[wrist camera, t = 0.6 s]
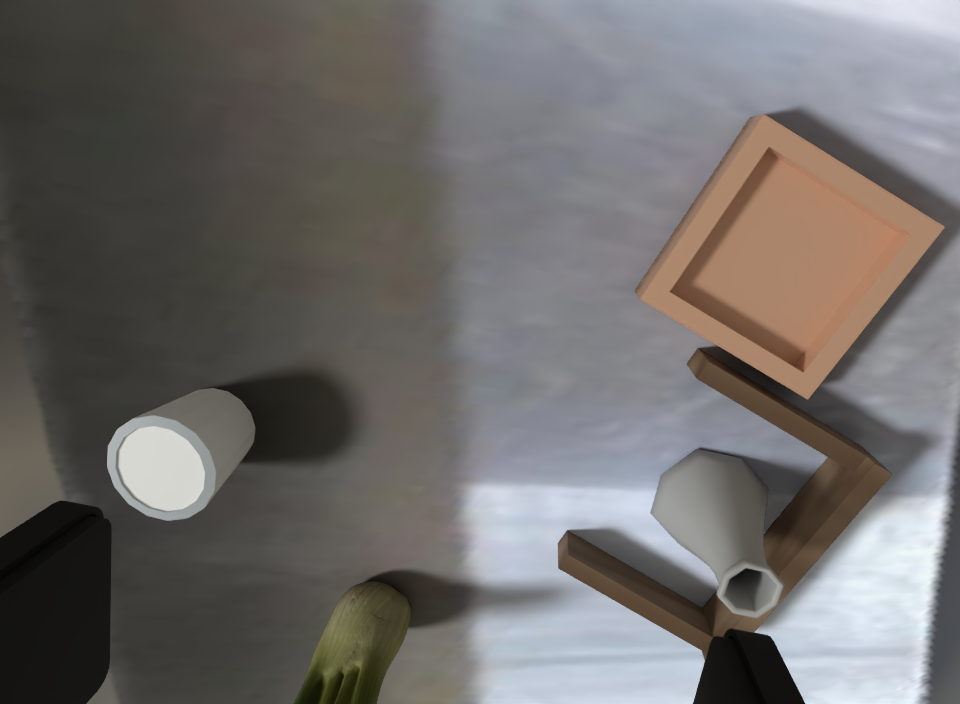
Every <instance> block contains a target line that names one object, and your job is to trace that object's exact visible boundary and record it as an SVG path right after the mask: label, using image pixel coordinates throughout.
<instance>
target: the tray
mask: <svg viewBox="0 0 960 704" xmlns="http://www.w3.org/2000/svg"><path fill="white" fill-rule="evenodd" d="M944 228H945V227H944V226H943V225H941V224H939V223H938V222H936V221H935V220H933V219H931V218H930V217H928V216H927V215H925V214H923V213H922V212H920V211H919V210H917V209H915V208H914V207H912V206H910V205H909V204H907V203H906V202H904V201H902V200H901V199H899V198H898V197H896V196H894V195H893V194H891V193H890V192H888V191H886V190H885V189H883V188H882V187H880V186H878V185H877V184H875V183H874V182H872V181H870V180H869V179H867V178H866V177H864V176H862V175H861V174H859V173H858V172H856V171H854V170H853V169H851V168H850V167H848V166H846V165H845V164H843V163H841V162H840V161H838V160H837V159H835V158H833V157H832V156H830V155H829V154H827V153H825V152H824V151H822V150H821V149H819V148H817V147H816V146H814V145H813V144H811V143H809V142H808V141H806V140H805V139H803V138H801V137H800V136H798V135H797V134H795V133H793V132H792V131H790V130H789V129H787V128H785V127H784V126H782V125H781V124H779V123H777V122H776V121H774V120H773V119H771V118H769V117H768V116H766V115H764V114H762V115H758V116H754V117H750V119H749V120H748V122H747V123H746V125H745V126H744V128H743V129H742V131H741V132H740V134H739V135H738V137H737V138H736V140H735V141H734V143H733V144H732V146H731V147H730V149H729V150H728V152H727V153H726V155H725V156H724V158H723V159H722V161H721V162H720V164H719V165H718V167H717V168H716V170H715V171H714V173H713V174H712V176H711V177H710V179H709V180H708V182H707V183H706V185H705V186H704V188H703V189H702V191H701V192H700V194H699V195H698V197H697V198H696V200H695V201H694V203H693V204H692V206H691V207H690V209H689V210H688V212H687V213H686V215H685V216H684V218H683V219H682V221H681V222H680V224H679V225H678V227H677V228H676V230H675V231H674V233H673V234H672V236H671V237H670V239H669V240H668V242H667V243H666V245H665V246H664V248H663V249H662V251H661V252H660V254H659V255H658V257H657V258H656V260H655V261H654V263H653V264H652V266H651V267H650V269H649V270H648V272H647V273H646V275H645V276H644V278H643V279H642V281H641V282H640V284H639V285H638V287H637V288H636V290H635V293H636V294H637V295H638V297H639V298H640V299H641V300H642V301H644V302H646V303H647V304H649V305H651V306H652V307H654V308H656V309H657V310H659V311H661V312H662V313H664V314H666V315H667V316H669V317H671V318H672V319H674V320H676V321H677V322H679V323H681V324H682V325H684V326H686V327H687V328H689V329H691V330H692V331H694V332H696V333H697V334H699V335H701V336H702V337H704V338H706V339H707V340H709V341H711V342H712V343H714V344H716V345H717V346H719V347H721V348H722V349H724V350H726V351H727V352H729V353H731V354H732V355H734V356H736V357H737V358H739V359H741V360H742V361H744V362H746V363H747V364H749V365H751V366H752V367H754V368H756V369H757V370H759V371H761V372H762V373H764V374H766V375H767V376H769V377H771V378H772V379H774V380H776V381H777V382H779V383H781V384H782V385H784V386H786V387H787V388H789V389H791V390H792V391H794V392H796V393H797V394H799V395H801V396H802V397H804V398H806V399H807V400H808V399H809V398H810V396H811V395H812V394H813V393H814V391H815V390H816V389H817V388H818V386H819V385H820V384H821V383H822V381H823V380H824V379H825V377H826V376H827V375H828V374H829V372H830V371H831V370H832V369H833V367H834V366H835V365H836V364H837V362H838V361H839V360H840V359H841V357H842V356H843V355H844V354H845V352H846V351H847V350H848V349H849V347H850V346H851V345H852V344H853V342H854V341H855V340H856V339H857V337H858V336H859V335H860V333H861V332H862V331H863V330H864V328H865V327H866V326H867V325H868V323H869V322H870V321H871V320H872V318H873V317H874V316H875V315H876V313H877V312H878V311H879V310H880V308H881V307H882V306H883V305H884V303H885V302H886V301H887V300H888V298H889V297H890V296H891V294H892V293H893V292H894V291H895V289H896V288H897V287H898V286H899V284H900V283H901V282H902V281H903V279H904V278H905V277H906V276H907V274H908V273H909V272H910V271H911V269H912V268H913V267H914V266H915V264H916V263H917V262H918V261H919V259H920V258H921V257H922V256H923V254H924V253H925V252H926V250H927V249H928V248H929V247H930V245H931V244H932V243H933V242H934V240H935V239H936V238H937V237H938V235H939V234H940V233H941V232H942V230H943V229H944Z"/></svg>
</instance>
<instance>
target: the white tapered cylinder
mask: <svg viewBox="0 0 960 704" xmlns="http://www.w3.org/2000/svg"><path fill="white" fill-rule="evenodd" d="M254 436H255V425H254V421H253V418H252V415H251V412H250V411H249V410H248V408H247V407H246V406H245V404H244V403H243V402H242V401H241V400H240V399H239V398H237V397H235V396H234V395H232V394H231V393H229V392H228V391H224V390H219V389H215V388H209V389H202V390H197V391H195V392H193V393H190V394H188V395H186V396H183V397H181V398H179V399H177V400H174V401H172V402H170V403H167V404H165V405H163V406H161V407H158V408H156V409H154V410H152V411H149V412H147V413H145V414H142V415H140V416H138V417H136V418H133V419H132V420H130V421H129V422H127V423H126V424H124V425H123V426H122V427H120V428H119V429H117V431H116V432H115V434H114V436H113V438H112V440H111V442H110V444H109V445H108V457H107V468H108V470H109V473H110V476H111V479H112V482H113V484H114V487H115V488H116V489H117V490H118V492H119V493H120V494H121V495H122V497H123V498H124V499H125V500H126V501H127V503H128V504H130V505H131V506H133V507H134V508H136V509H138V510H139V511H141V512H142V513H144V514H145V515H147V516H151V517H155V518H159V519H163V520H167V521H170V520H177V519H185V518H189V517H191V516H192V515H194V514H195V513H197V512H199V511H200V510H202V509H204V508H205V507H206V505H207V504H208V503H209V501H210V500H211V499H212V498H213V496H214V495H215V494H216V492H217V491H218V490H219V489H220V487H221V486H222V485H223V484H224V482H225V481H226V480H227V478H228V477H229V476H230V475H231V473H232V472H233V471H234V469H235V468H236V467H237V466H238V464H239V463H240V462H241V460H242V459H243V458H244V457H245V455H246V454H247V452H248V451H249V449H250V448H251V446H252V444H253V443H254Z"/></svg>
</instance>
